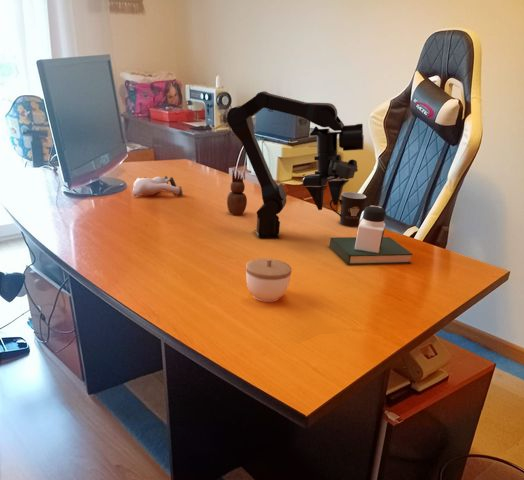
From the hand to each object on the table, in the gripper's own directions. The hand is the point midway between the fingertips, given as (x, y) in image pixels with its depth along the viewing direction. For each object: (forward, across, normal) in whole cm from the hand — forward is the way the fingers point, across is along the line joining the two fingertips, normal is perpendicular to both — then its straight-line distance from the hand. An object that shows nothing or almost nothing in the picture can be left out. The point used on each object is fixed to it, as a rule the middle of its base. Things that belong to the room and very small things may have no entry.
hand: (328, 207), depth 155 cm
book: (+14, +3, -12) cm, 19 cm away
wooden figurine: (+4, +5, +40) cm, 40 cm away
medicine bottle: (+12, 0, -13) cm, 17 cm away
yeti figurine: (-2, 0, +77) cm, 77 cm away
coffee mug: (+10, +26, +9) cm, 30 cm away
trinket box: (+14, -44, -8) cm, 46 cm away
